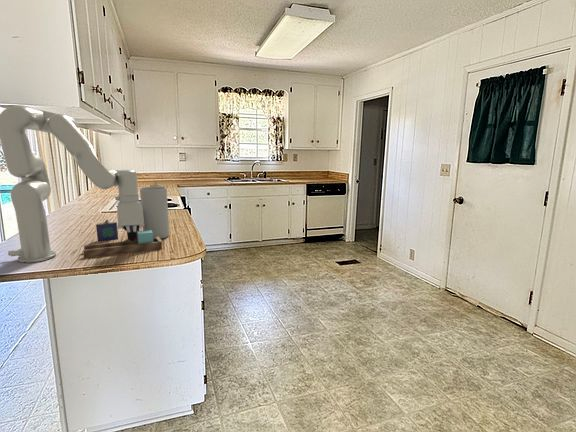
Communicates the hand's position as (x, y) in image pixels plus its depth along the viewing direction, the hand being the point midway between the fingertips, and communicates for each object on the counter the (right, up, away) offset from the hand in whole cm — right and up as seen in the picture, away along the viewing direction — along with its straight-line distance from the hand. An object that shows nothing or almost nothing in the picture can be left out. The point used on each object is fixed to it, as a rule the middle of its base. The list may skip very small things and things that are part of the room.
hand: (132, 240), depth 148 cm
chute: (-3, -5, -1) cm, 6 cm away
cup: (-7, -2, +17) cm, 19 cm away
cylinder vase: (+1, 0, +26) cm, 26 cm away
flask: (-19, -2, +17) cm, 25 cm away
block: (+5, -4, +3) cm, 7 cm away
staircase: (-15, +9, +69) cm, 71 cm away
